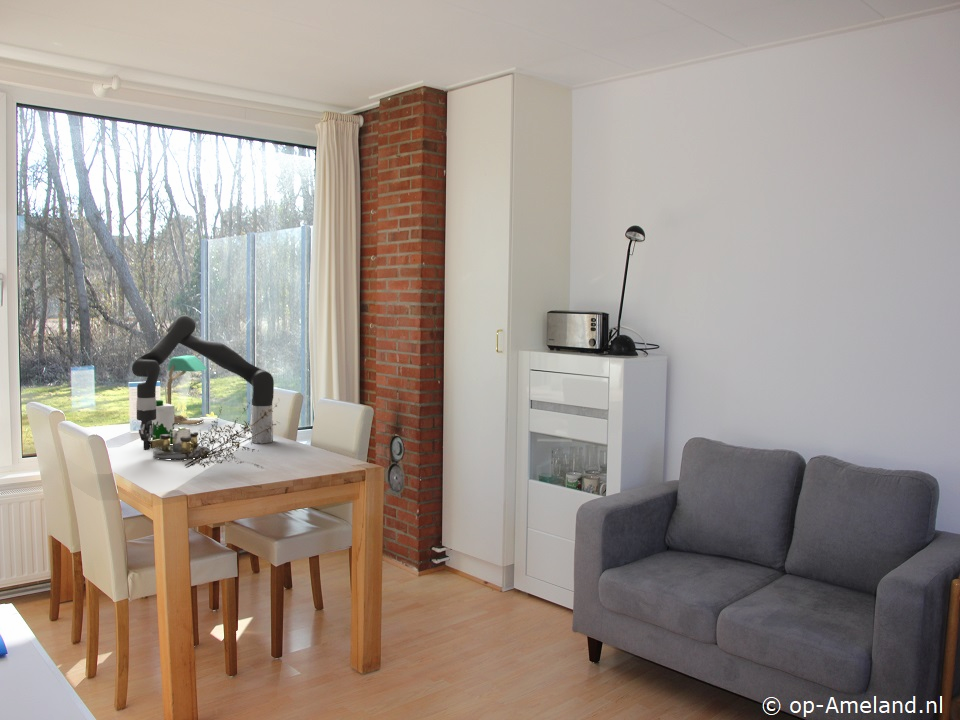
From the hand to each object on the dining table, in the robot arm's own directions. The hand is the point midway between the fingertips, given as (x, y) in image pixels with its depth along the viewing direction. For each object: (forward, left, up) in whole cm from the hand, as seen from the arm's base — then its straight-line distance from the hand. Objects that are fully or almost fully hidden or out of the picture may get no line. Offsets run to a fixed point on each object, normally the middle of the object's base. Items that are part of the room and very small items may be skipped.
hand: (146, 449), depth 329 cm
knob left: (-17, +1, -1) cm, 17 cm away
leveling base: (-12, -7, -4) cm, 14 cm away
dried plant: (-39, +19, -4) cm, 44 cm away
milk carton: (+2, -30, -4) cm, 30 cm away
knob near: (-14, -15, -1) cm, 20 cm away
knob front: (-4, -5, -1) cm, 6 cm away
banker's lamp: (+9, -90, -4) cm, 91 cm away
